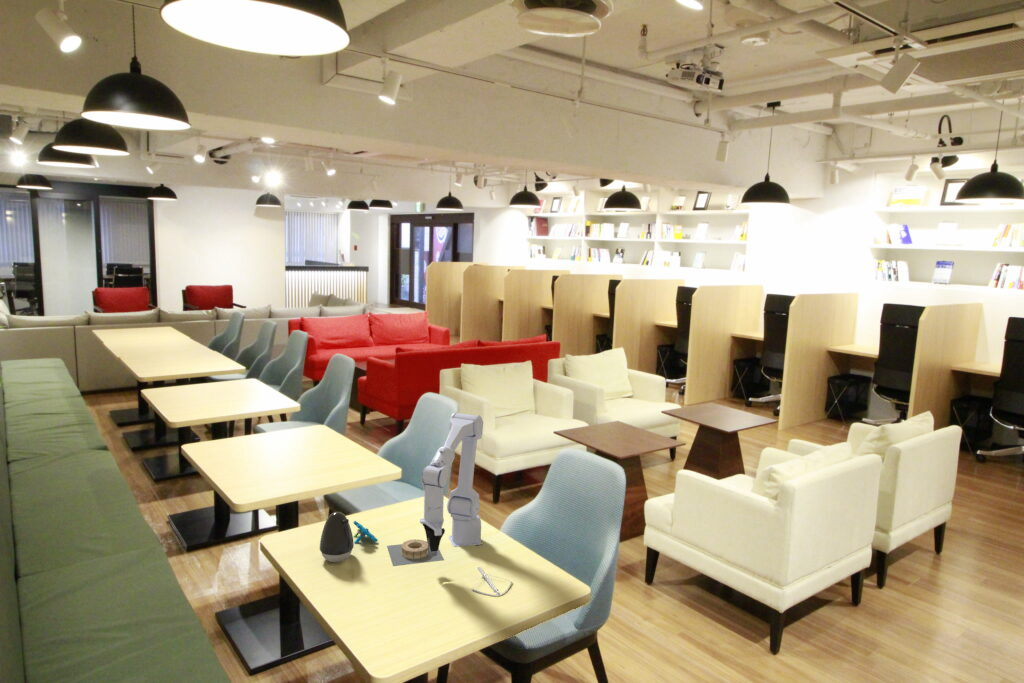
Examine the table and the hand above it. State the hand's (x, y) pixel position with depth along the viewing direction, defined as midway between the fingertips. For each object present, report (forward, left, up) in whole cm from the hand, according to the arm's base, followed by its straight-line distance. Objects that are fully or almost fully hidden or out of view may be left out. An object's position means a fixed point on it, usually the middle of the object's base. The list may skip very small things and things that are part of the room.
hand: (432, 548), depth 196 cm
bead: (+3, -13, -7) cm, 15 cm away
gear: (+18, -26, -8) cm, 32 cm away
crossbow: (-15, +10, -9) cm, 20 cm away
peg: (0, 0, -2) cm, 2 cm away
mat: (+3, -13, -8) cm, 15 cm away
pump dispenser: (+27, -16, -8) cm, 32 cm away
